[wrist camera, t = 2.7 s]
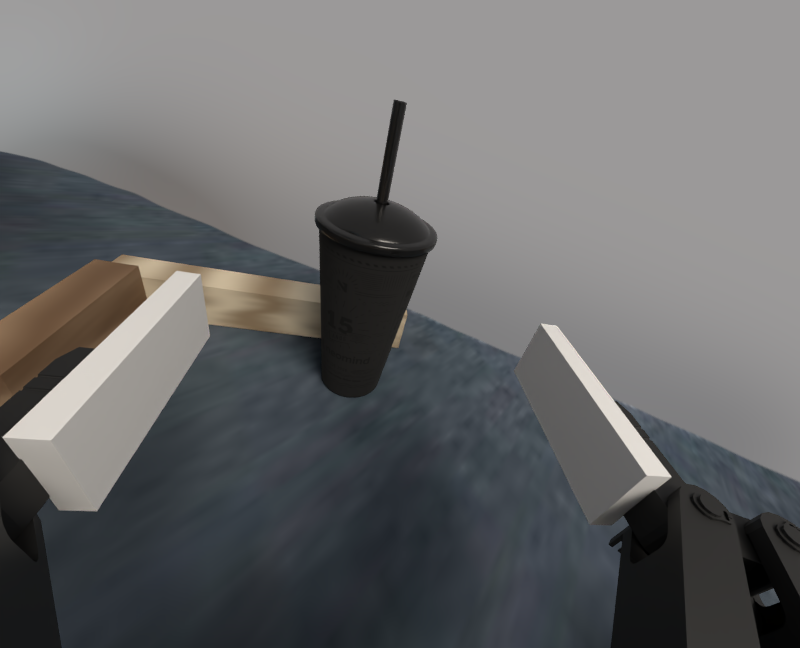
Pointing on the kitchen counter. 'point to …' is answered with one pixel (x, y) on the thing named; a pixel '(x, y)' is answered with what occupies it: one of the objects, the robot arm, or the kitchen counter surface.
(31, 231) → the kitchen counter surface
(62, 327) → the wooden l-shaped block
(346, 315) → the drinking cup
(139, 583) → the kitchen counter surface
